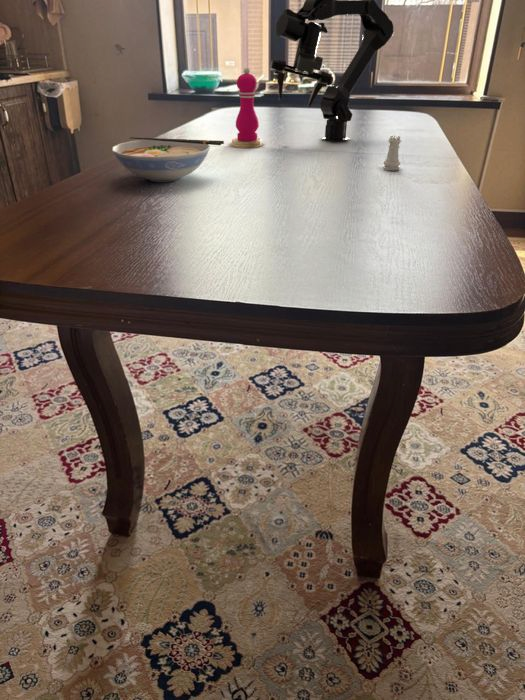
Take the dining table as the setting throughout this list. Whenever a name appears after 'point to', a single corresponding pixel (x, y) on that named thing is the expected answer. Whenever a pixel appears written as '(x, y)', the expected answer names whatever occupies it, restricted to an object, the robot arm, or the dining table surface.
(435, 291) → the dining table surface
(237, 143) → the beige flat disc
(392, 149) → the rook chess piece
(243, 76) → the pepper mill
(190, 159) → the ramen bowl
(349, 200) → the dining table surface
